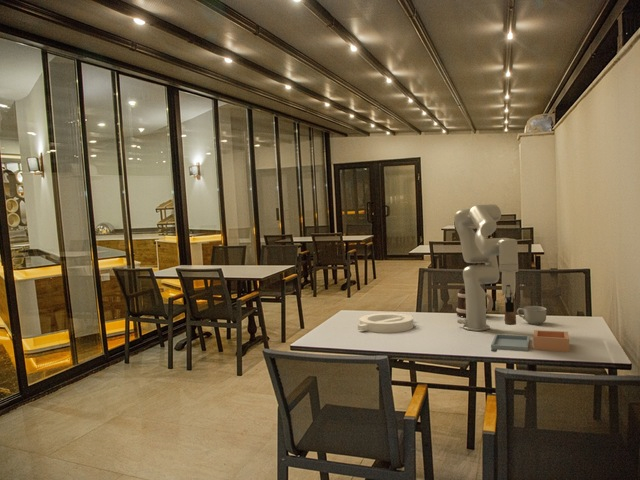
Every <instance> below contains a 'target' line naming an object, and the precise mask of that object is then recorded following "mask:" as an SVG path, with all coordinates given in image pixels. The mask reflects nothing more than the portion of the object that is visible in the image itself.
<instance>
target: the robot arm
mask: <svg viewBox="0 0 640 480" xmlns="http://www.w3.org/2000/svg"><path fill="white" fill-rule="evenodd" d="M501 217H502V209H501V208H500V207H499V206H498V205H496V204H477V205H473V206H472V207H471V208H465V209H461V210H460V209H459V210H457V211H456V212H455V213H454V217H453V221H454V222H453V223H454V227H455V230H456V232H457V234H458V237H459V242H460V248H461V253H462V258H463V260H464V262H465V263H467V264H472V265H468V266H466V267H464V268H463V271H462V278H463V283H464V288H465V296H466V318H464V319H461V318H460V319H457V324H459V325H460V324H461V325H463V329H464V330H467V331H475V332H477V331H478V332H481V331H482V332H483V331H484V332H485V331H488V330H490V328H491V326H490V325H489V324H487V312H486V308H487V303H486V302H487V301H486V298H487V297H486V296H485V293H486V291H485V290H484V288H483V287H482V286H481V285H489V284H496V283H498V282H499V280H500V273H501V295H502V296H504V295H505V298H506V302H505V307H504V309H505V308H506V312H514V302H513V298H515V297H514V296H515V293H516V286H517V285H516V273H517V272H519V251H518V241H517V239H515V238H510V237H509V238H508V237H494V238H493V237H492V238H486V237H489V236H491V235H492V234H494V232H496V230H497V222H499V221H500V219H501ZM472 226H475V228H476V232H475V230H474V229H473V228H472ZM497 256H498V258H497ZM479 263H480V264H479ZM481 263H484V264H481Z"/></svg>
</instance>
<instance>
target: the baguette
mask: <svg viewBox="0 0 640 480" xmlns="http://www.w3.org/2000/svg"><path fill="white" fill-rule="evenodd" d="M505 302H506V297H504V298H503V305H504V324H505V325H507V326H515V325H517V309H516V308H517V307H516V298H515V297H514V298H513V302H514V312H506V308H505Z"/></svg>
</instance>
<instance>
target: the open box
mask: <svg viewBox="0 0 640 480" xmlns="http://www.w3.org/2000/svg"><path fill="white" fill-rule="evenodd" d="M532 339H533V340H532V342H533V343H532V344H533V346H532V347H533V350H538V351H552V352H553V351H554V352H555V351H556V352H570V337H569V331H564V330H563V331H561V330H559V331H558V330H542V329H540V330H539V329H533V333H532Z"/></svg>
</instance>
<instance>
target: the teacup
mask: <svg viewBox="0 0 640 480" xmlns="http://www.w3.org/2000/svg"><path fill="white" fill-rule="evenodd" d="M520 311H522V313H523V315H522V314H520ZM516 315H518V316H519V317H520V318H522V320H525V322H526V323H527V324H531V325H536V324H538V325H542V324H544V323H545V322H546V320H547V308H546V307H544V306H539V305H528V306H524V307H523V308H522V307H518V309H516Z"/></svg>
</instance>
